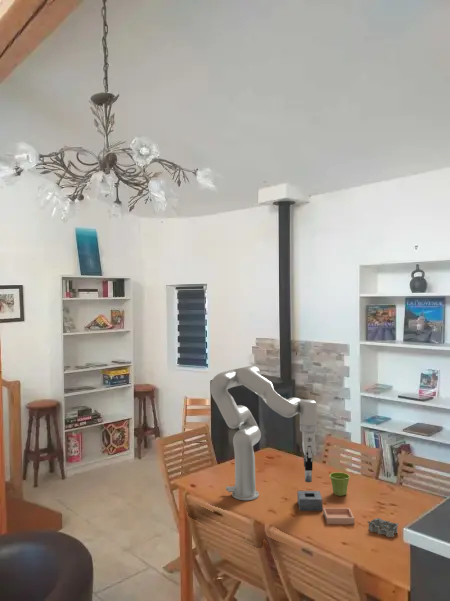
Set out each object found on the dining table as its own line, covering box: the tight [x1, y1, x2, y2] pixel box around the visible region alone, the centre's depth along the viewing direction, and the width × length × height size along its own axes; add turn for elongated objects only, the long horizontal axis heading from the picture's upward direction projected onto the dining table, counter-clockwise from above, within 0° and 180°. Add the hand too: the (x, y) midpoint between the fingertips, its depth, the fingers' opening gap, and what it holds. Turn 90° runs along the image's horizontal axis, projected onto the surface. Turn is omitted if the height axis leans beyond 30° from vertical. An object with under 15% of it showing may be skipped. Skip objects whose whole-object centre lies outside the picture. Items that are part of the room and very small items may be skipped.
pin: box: [303, 457, 314, 483], centre depth 223 cm, size 4×4×10 cm
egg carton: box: [366, 517, 399, 538], centre depth 197 cm, size 11×8×4 cm
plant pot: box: [329, 471, 351, 497], centre depth 237 cm, size 9×9×9 cm
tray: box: [322, 507, 356, 525], centre depth 209 cm, size 11×10×2 cm
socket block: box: [296, 490, 324, 512], centre depth 223 cm, size 10×10×5 cm
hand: (308, 468), depth 223 cm, fingers closed on pin, 4 cm apart
